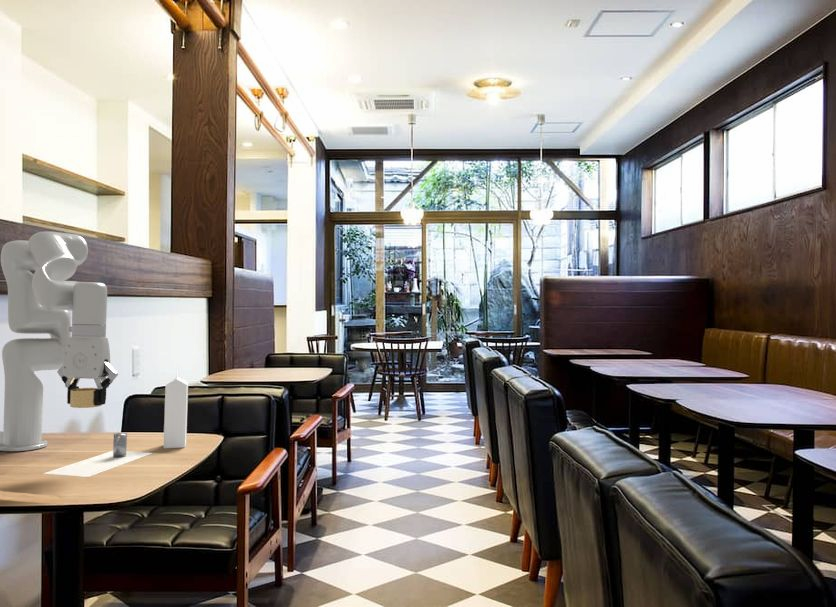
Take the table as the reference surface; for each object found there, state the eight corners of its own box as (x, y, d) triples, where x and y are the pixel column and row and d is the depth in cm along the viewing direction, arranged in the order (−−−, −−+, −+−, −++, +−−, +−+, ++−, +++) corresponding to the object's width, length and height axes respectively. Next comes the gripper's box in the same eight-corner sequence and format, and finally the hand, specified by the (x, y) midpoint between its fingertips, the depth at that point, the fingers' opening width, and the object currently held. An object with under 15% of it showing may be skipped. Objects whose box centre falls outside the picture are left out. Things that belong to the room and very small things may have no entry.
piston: (110, 457, 166) (111, 434, 166) (118, 454, 169) (118, 432, 169) (121, 458, 165) (121, 435, 165) (128, 455, 168) (129, 433, 168)
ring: (64, 406, 151) (64, 390, 151) (83, 403, 158) (84, 387, 158) (88, 408, 150) (89, 391, 150) (107, 404, 157) (108, 388, 157)
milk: (163, 448, 185) (165, 374, 185) (165, 444, 190) (167, 372, 191) (185, 447, 186) (186, 373, 186) (186, 443, 192) (188, 371, 192)
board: (42, 479, 148) (43, 473, 148) (113, 455, 174) (113, 450, 174) (87, 483, 146) (88, 476, 146) (152, 458, 172) (153, 452, 172)
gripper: (46, 331, 152) (43, 404, 152) (110, 333, 149) (107, 408, 149) (68, 330, 159) (66, 400, 159) (130, 332, 156) (127, 403, 156)
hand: (86, 403), depth 154 cm, fingers closed on ring, 6 cm apart
